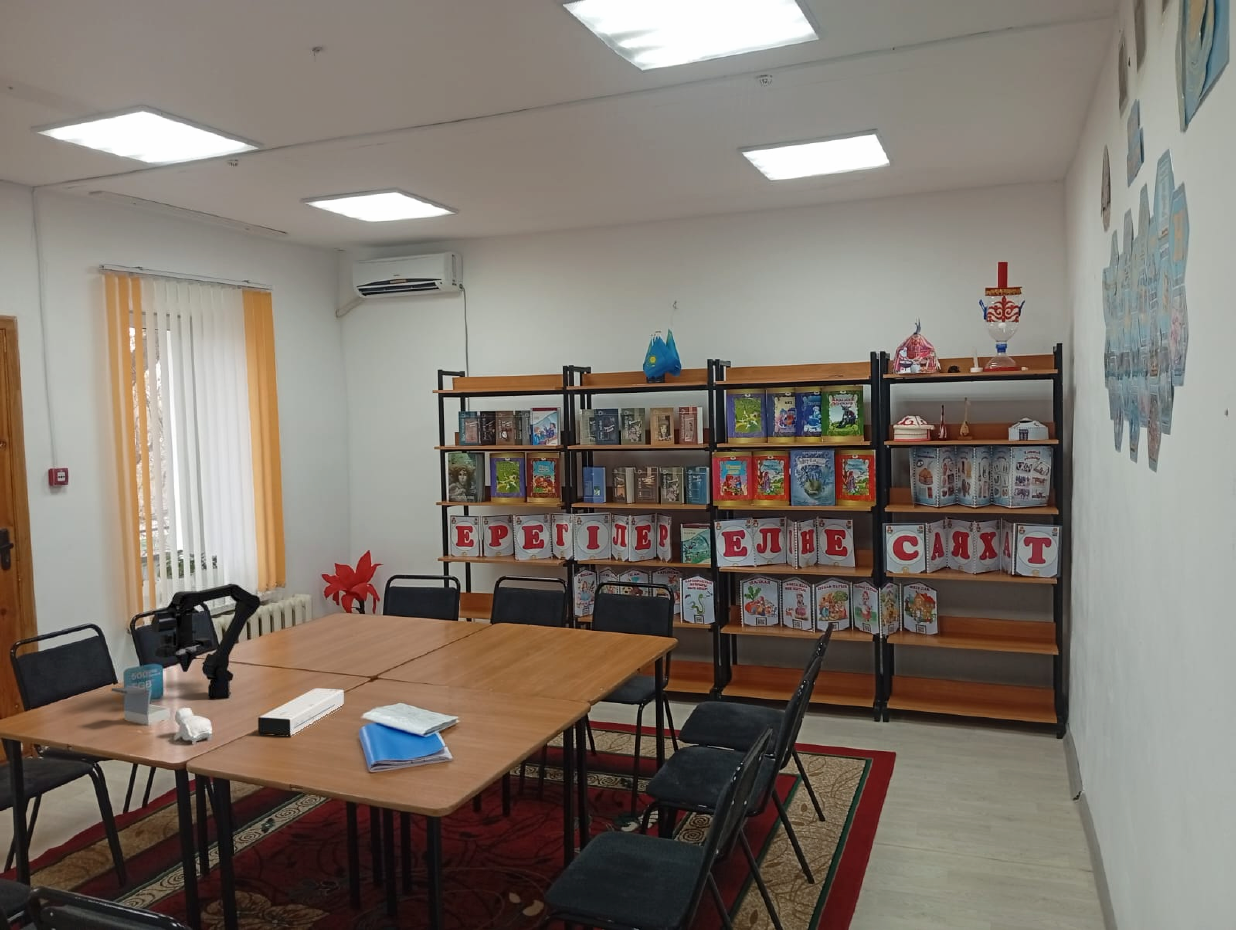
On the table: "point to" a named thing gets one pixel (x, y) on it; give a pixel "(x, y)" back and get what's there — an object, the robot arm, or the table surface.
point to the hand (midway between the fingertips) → (185, 671)
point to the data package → (146, 679)
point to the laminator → (300, 712)
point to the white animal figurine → (192, 726)
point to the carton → (149, 715)
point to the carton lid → (135, 699)
